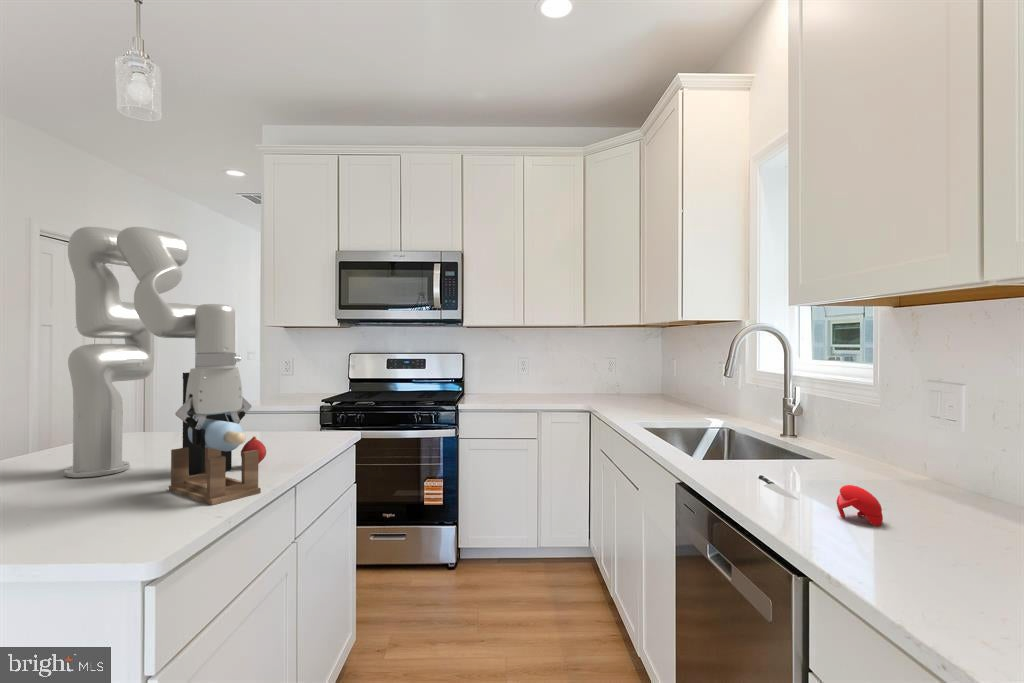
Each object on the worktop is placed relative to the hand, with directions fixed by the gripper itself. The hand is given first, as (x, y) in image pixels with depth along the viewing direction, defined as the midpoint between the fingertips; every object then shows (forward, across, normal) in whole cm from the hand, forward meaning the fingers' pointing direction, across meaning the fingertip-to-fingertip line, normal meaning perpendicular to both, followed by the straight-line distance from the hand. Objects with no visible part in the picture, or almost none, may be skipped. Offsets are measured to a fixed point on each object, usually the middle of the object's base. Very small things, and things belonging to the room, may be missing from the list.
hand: (215, 444), depth 110 cm
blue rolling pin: (+1, 0, 0) cm, 1 cm away
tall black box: (+10, -8, -19) cm, 23 cm away
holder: (+10, 0, 0) cm, 10 cm away
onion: (+10, -17, -14) cm, 24 cm away
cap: (+12, -57, +117) cm, 130 cm away
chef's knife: (+12, -71, +101) cm, 124 cm away
